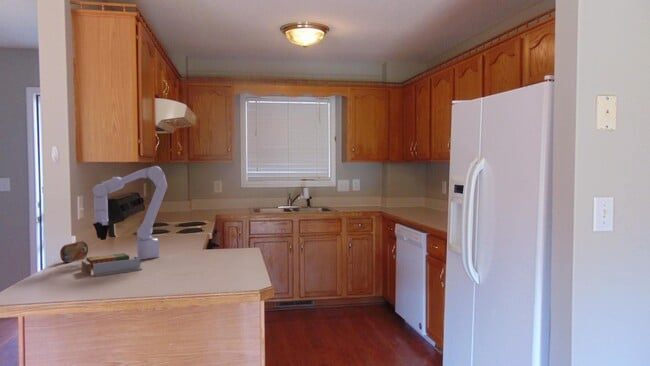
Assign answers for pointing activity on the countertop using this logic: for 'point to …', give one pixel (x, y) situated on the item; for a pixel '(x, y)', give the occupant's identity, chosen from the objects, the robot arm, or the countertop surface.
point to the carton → (107, 258)
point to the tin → (74, 251)
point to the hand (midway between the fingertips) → (101, 238)
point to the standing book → (86, 267)
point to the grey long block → (116, 267)
